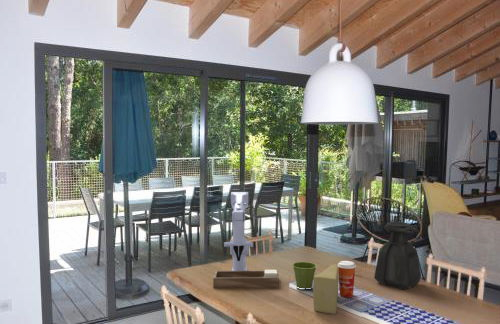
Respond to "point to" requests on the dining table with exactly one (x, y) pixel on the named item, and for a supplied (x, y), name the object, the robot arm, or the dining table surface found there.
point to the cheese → (326, 290)
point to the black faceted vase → (398, 259)
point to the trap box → (243, 279)
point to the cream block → (270, 274)
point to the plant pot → (304, 274)
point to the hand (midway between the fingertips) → (238, 260)
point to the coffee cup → (346, 278)
